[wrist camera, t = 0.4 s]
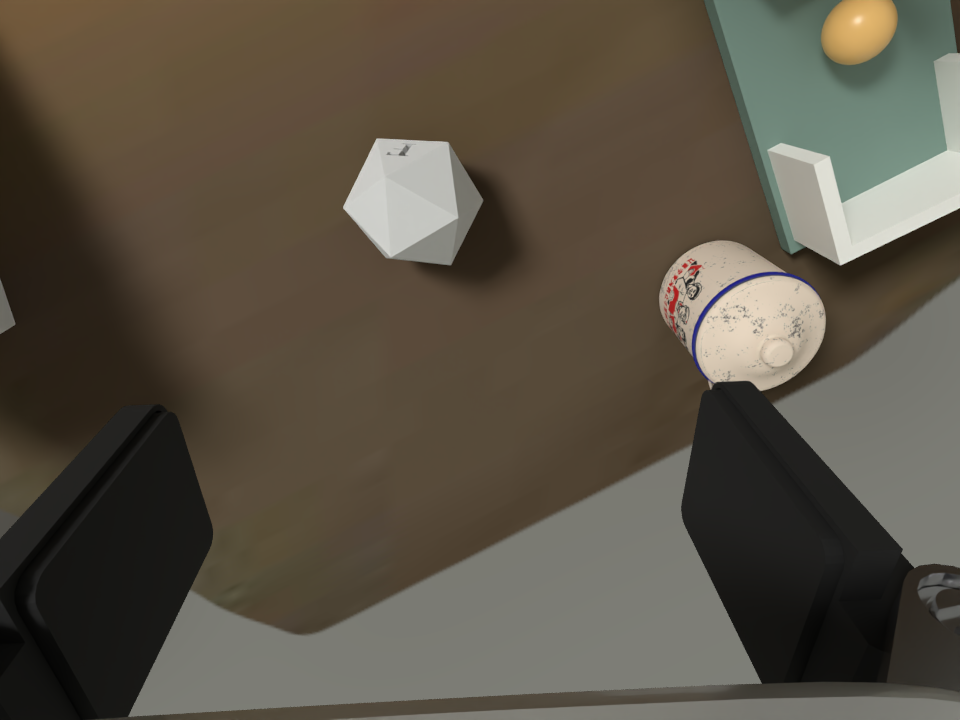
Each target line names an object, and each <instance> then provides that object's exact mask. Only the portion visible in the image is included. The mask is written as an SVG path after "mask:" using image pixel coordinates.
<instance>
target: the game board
mask: <svg viewBox="0 0 960 720" xmlns="http://www.w3.org/2000/svg"><path fill="white" fill-rule="evenodd" d="M841 1H842V0H704V2H705V6H706V9H707V12H708V15H709V18H710V22H711V25H712V28H713V31H714V34H715V38H716V41H717V44H718V47H719V50H720V54H721V57H722V60H723V63H724V66H725V70H726V73H727V76H728V79H729V82H730V86H731V89H732V92H733V95H734V98H735V101H736V105H737V108H738V111H739V114H740V117H741V121H742V124H743V127H744V130H745V133H746V137H747V140H748V143H749V146H750V149H751V153H752V156H753V159H754V162H755V165H756V169H757V172H758V175H759V178H760V181H761V185H762V188H763V191H764V194H765V197H766V201H767V204H768V207H769V210H770V213H771V217H772V220H773V223H774V226H775V229H776V233H777V236H778V239H779V242H780V245H781V248H782V249H783V250H785V251H787V252H788V253H790V254H793V253H795V252H797V251H799V250H801V249H803V248H805V247H808V248H809V249H811V250H813V251H815V252H817V253H819V254H820V255H822V256H824V257H826V258H828V259H829V260H831V261H833V262H835V263H837V264H838V265H840V266H841V265H843V264H845V263H847V262H849V261H851V260H853V259H855V258H857V257H859V256H861V255H863V254H865V253H868V252H870V251H872V250H874V249H876V248H878V247H880V246H882V245H884V244H886V243H888V242H890V241H892V240H895V239H897V238H899V237H901V236H903V235H905V234H907V233H909V232H911V231H913V230H915V229H917V228H919V227H922V226H924V225H926V224H928V223H930V222H932V221H934V220H936V219H938V218H940V217H942V216H944V215H947V214H949V213H951V212H953V211H955V210H957V209H959V208H960V53H957V48H956V40H955V33H954V26H953V18H952V11H951V4H950V0H892V1H893V3H894V5H895V7H896V9H897V14H898V22H897V27H896V30H895V33H894V35H893V37H892V39H891V41H890V42H889V44H888V45H887V46H886V47H885V48H884V49H883V50H882V51H881V52H880V53H879V54H878V55H877V56H875V57H873V58H872V59H870V60H868V61H866V62H863V63H860V64H856V65H842V64H838V63H836V62H834V61H832V60H831V59H830V58H829V57H828V56H827V55H826V54H825V52H824V50H823V48H822V44H821V31H822V27H823V24H824V22H825V20H826V18H827V16H828V15H829V13H830V12H831V11H832V9H833V8H834V7H835V6H836V5H837V4H839V3H840V2H841Z"/></svg>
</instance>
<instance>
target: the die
mask: <svg viewBox="0 0 960 720" xmlns="http://www.w3.org/2000/svg"><path fill="white" fill-rule="evenodd" d="M483 201H484V200H483V199H482V197H481V195H480V194H479V192H478V190H477V189H476V187H475V185H474V184H473V182H472V181H471V179H470V177H469V176H468V174H467V172H466V171H465V169H464V167H463V166H462V164H461V162H460V161H459V159H458V157H457V156H456V154H455V153H454V151H453V149H452V148H451V146H450V144H449V143H448V142H436V141H416V140H396V139H376V141H375V143H374V145H373V147H372V149H371V151H370V153H369V156H368V158H367V160H366V162H365V164H364V166H363V168H362V170H361V172H360V174H359V176H358V178H357V180H356V182H355V184H354V186H353V188H352V190H351V192H350V194H349V196H348V198H347V200H346V202H345V204H344V207H343V208H344V209H345V211H346V212H347V213H348V214H349V215H350V216H351V218H352V219H353V220H354V221H355V222H356V223H357V225H358V226H359V227H360V228H361V229H362V230H363V232H364V233H365V234H366V235H367V236H368V238H369V239H370V240H371V241H372V242H373V243H374V245H375V246H376V247H377V248H378V249H379V250H380V252H381V253H382V254H383V255H384V256H385V257H386V258H391V259H399V260H408V261H417V262H426V263H435V264H443V265H451V264H452V262H453V260H454V258H455V256H456V254H457V252H458V250H459V248H460V246H461V244H462V242H463V240H464V238H465V236H466V234H467V232H468V230H469V228H470V226H471V224H472V222H473V220H474V218H475V216H476V214H477V212H478V210H479V208H480V206H481V204H482V202H483Z"/></svg>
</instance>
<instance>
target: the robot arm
mask: <svg viewBox="0 0 960 720" xmlns="http://www.w3.org/2000/svg"><path fill="white" fill-rule="evenodd" d="M681 511H682V518H683V522H684V525H685V527H686V529H687V531H688V533H689V535H690V537H691V539H692V541H693V543H694V545H695V547H696V550H697V552H698V554H699V556H700V558H701V560H702V562H703V564H704V566H705V568H706V570H707V572H708V574H709V576H710V578H711V580H712V582H713V584H714V586H715V588H716V590H717V592H718V595H719V597H720V599H721V601H722V603H723V605H724V607H725V609H726V611H727V613H728V615H729V617H730V619H731V621H732V623H733V625H734V627H735V629H736V631H737V633H738V635H739V637H740V640H741V641H742V644H743V645H744V648H745V650H746V652H747V654H748V656H749V658H750V660H751V662H752V664H753V666H754V668H755V670H756V672H757V674H758V676H759V678H760V680H761V682H762V684H738V685H707V686H689V687H666V688H646V689H625V690H604V691H584V692H564V693H543V694H523V695H506V696H487V697H467V698H448V699H429V700H412V701H394V702H376V703H357V704H339V705H321V706H303V707H287V708H270V709H253V710H237V711H221V712H203V713H186V714H170V715H153V716H137V717H128V715H129V713H130V711H131V709H132V707H133V705H134V703H135V701H136V699H137V697H138V695H139V693H140V691H141V689H142V687H143V685H144V682H145V680H146V678H147V676H148V674H149V672H150V670H151V668H152V666H153V664H154V662H155V660H156V658H157V656H158V654H159V652H160V649H161V648H162V646H163V644H164V641H165V639H166V637H167V635H168V633H169V631H170V629H171V627H172V625H173V623H174V621H175V619H176V617H177V615H178V612H179V611H180V609H181V606H182V604H183V602H184V600H185V598H186V596H187V594H188V592H189V590H190V588H191V586H192V584H193V582H194V580H195V578H196V576H197V574H198V572H199V570H200V568H201V566H202V563H203V561H204V559H205V557H206V555H207V553H208V551H209V549H210V547H211V544H212V539H213V528H212V524H211V520H210V517H209V514H208V511H207V508H206V505H205V502H204V499H203V495H202V492H201V489H200V486H199V483H198V480H197V477H196V474H195V470H194V467H193V464H192V461H191V458H190V455H189V452H188V449H187V445H186V442H185V439H184V436H183V433H182V430H181V427H180V424H179V421H178V418H177V416H176V415H175V414H174V413H172V412H167V410H166V409H165V407H164V406H162V405H160V404H157V405H132V406H124V407H123V408H121V409H120V410H119V411H118V412H117V413H116V414H115V415H114V416H113V418H112V419H111V420H110V421H109V422H108V423H107V424H106V425H105V426H104V427H103V428H102V429H101V430H100V432H99V433H98V434H97V435H96V436H95V437H94V438H93V439H92V440H91V441H90V442H89V443H88V445H87V446H86V447H85V448H84V449H83V450H82V451H81V452H80V453H79V454H78V455H77V456H76V458H75V459H74V460H73V461H72V462H71V463H70V464H69V465H68V466H67V467H66V468H65V469H64V470H63V472H62V473H61V474H60V475H59V476H58V477H57V478H56V479H55V480H54V481H53V482H52V483H51V485H50V486H49V487H48V488H47V489H46V490H45V491H44V492H43V493H42V494H41V495H40V496H39V497H38V499H37V500H36V501H35V502H34V503H33V504H32V505H31V506H30V507H29V508H28V509H27V510H26V512H25V513H24V514H23V515H22V516H21V517H20V518H19V519H18V520H17V521H16V522H15V524H14V525H13V526H12V527H11V528H10V529H9V530H8V531H7V532H6V533H5V534H4V535H3V536H2V538H1V539H0V720H960V568H958V567H955V566H949V565H940V564H929V565H921V566H918V567H916V568H914V567H913V566H912V565H911V564H910V563H909V562H908V560H907V559H906V558H905V557H904V556H903V555H902V554H901V552H902V550H903V549H902V548H901V547H900V546H899V545H898V543H897V542H896V541H895V540H894V539H893V538H892V537H891V536H890V535H889V533H888V532H887V531H886V530H885V529H884V528H883V527H882V526H881V525H880V524H879V522H878V521H877V520H876V519H875V518H874V517H873V516H872V515H871V514H870V513H869V511H868V510H867V509H866V508H865V507H864V506H863V505H862V504H861V503H860V501H859V500H858V499H857V498H856V497H855V496H854V495H853V494H852V493H851V492H850V490H849V489H848V488H847V487H846V486H845V485H844V484H843V483H842V481H841V480H840V479H839V478H838V477H837V476H836V475H835V474H834V473H833V471H832V470H831V469H830V468H829V467H828V466H827V465H826V464H825V463H824V462H823V461H822V459H821V458H820V457H819V456H818V455H817V454H816V453H815V452H814V450H813V449H812V448H811V447H810V446H809V445H808V444H807V443H806V442H805V440H804V439H803V438H801V436H800V435H799V434H798V433H797V432H796V430H795V429H794V428H793V427H792V426H791V425H790V424H789V423H788V422H787V420H786V419H785V418H784V417H783V416H782V415H781V414H780V413H779V412H778V410H777V409H776V408H775V407H774V406H773V405H772V404H771V403H770V402H769V400H768V399H767V398H766V397H765V396H764V395H763V394H762V393H761V392H760V390H759V389H758V388H757V387H756V386H755V385H754V384H753V383H752V382H750V381H727V382H716V383H715V384H714V385H713V386H712V388H711V390H706V391H704V393H703V394H702V398H701V403H700V408H699V413H698V419H697V424H696V429H695V435H694V440H693V446H692V451H691V456H690V462H689V467H688V472H687V478H686V484H685V489H684V494H683V499H682V506H681Z"/></svg>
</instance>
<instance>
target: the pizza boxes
mask: <svg viewBox="0 0 960 720" xmlns="http://www.w3.org/2000/svg"><path fill="white" fill-rule="evenodd" d="M14 325H16V324H15V321H14V318H13V315H12V312H11V309H10V306H9V303H8V300H7V297H6V294H5V291H4V288H3V285H2V282H1V280H0V334H1V333H3V332H4V331H6V330H8V329H9V328H11V327H12V326H14Z"/></svg>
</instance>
